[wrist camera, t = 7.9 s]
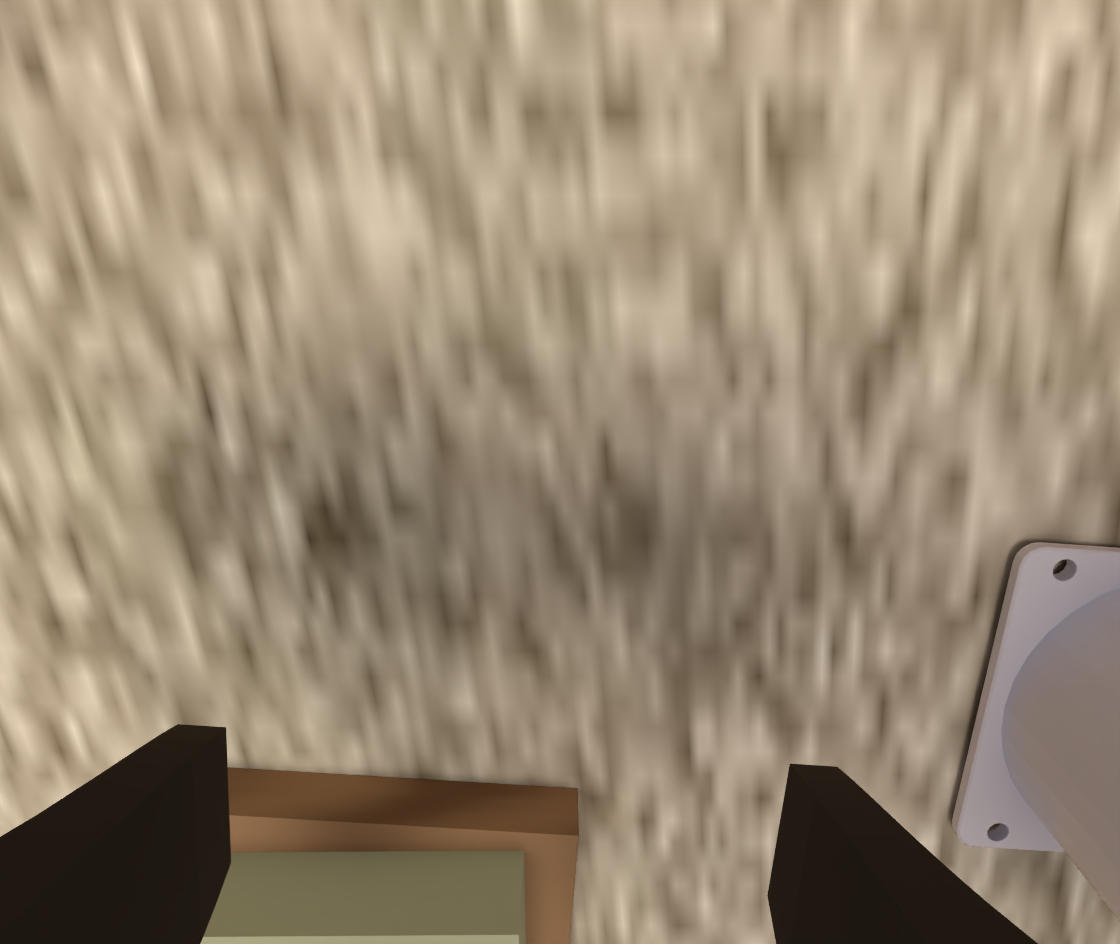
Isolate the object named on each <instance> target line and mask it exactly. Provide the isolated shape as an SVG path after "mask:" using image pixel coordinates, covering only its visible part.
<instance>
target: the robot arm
mask: <svg viewBox="0 0 1120 944" xmlns="http://www.w3.org/2000/svg"><path fill="white" fill-rule="evenodd" d="M1065 559H1067V565H1066V566H1065V568H1064V570H1062V571H1061V572H1060V573H1057V574H1053V568H1054V566H1055V565H1056V563H1058V562H1059V561H1061V560H1065ZM997 823H1000V825H999V827H997V828H996V829H994V830H988V829H989V828H990V827H991V826H992V825H994V824H997ZM952 828H953V830H954V832H955V833H956V835H957V837H958V838H959V840H960V841H961V842H963V843H964V844H965V845H969V846H973V847H989V848H1005V849H1020V850H1036V851H1052V852H1066V854H1067V855H1068V856H1069V857H1070V859H1071V860H1072V861H1073V862H1074V864H1075V865H1076V866H1077V867H1078V869H1079V870H1080V871H1081V873H1082V874H1083V875H1084V876H1085V878H1086V879H1087V880H1088V881H1089V883H1090V884H1091V885H1092V887H1093V888H1094V889H1095V890H1096V892H1097V893H1098V894H1099V895H1100V897H1101V898H1102V899H1103V901H1104V902H1105V903H1106V904H1107V906H1108V907H1109V908H1110V909H1111V911H1112V912H1113V913H1114V915H1115V916H1116V917H1117V918H1118V920H1119V921H1120V548H1116V547H1102V546H1088V545H1073V544H1059V543H1044V542H1037V543H1030V544H1028V545H1026V546H1024V547H1022V548H1021V550H1020V551H1019V552H1018V553H1017V554H1016V556H1015V558H1014V560H1013V564H1012V568H1011V572H1010V576H1009V581H1008V585H1007V589H1006V593H1005V598H1004V602H1003V606H1002V610H1001V615H1000V619H999V623H998V627H997V631H996V636H995V640H994V644H993V648H992V653H991V657H990V661H989V665H988V670H987V674H986V678H985V682H984V687H983V691H982V695H981V699H980V704H979V708H978V712H977V716H976V721H975V725H974V729H973V733H972V738H971V742H970V746H969V750H968V755H967V759H966V763H965V767H964V771H963V776H962V780H961V784H960V788H959V793H958V797H957V801H956V805H955V810H954V814H953V818H952ZM230 865H231V843H230V818H229V793H228V768H227V744H226V727H210V726H195V725H179V724H178V725H176V726H174V727H172V728H171V729H169V730H167V731H166V732H164V733H162V734H161V735H159V736H157V737H156V738H154V739H153V740H151V741H150V742H148V743H147V744H145V745H143V746H142V747H140V748H139V749H137V750H136V751H134V752H133V753H131V754H130V755H128V756H127V757H125V758H124V759H122V760H121V761H119V762H118V763H116V764H115V765H113V766H112V767H110V768H109V769H107V770H106V771H104V772H103V773H101V774H100V775H98V776H96V777H95V778H93V779H92V780H90V781H89V782H87V783H86V784H84V785H83V786H81V787H80V788H78V789H76V790H75V791H73V792H72V793H70V794H69V795H67V796H66V797H64V798H63V799H61V800H59V801H58V802H56V803H55V804H53V805H52V806H50V807H49V808H47V809H46V810H44V811H42V812H41V813H39V814H38V815H36V816H34V817H33V818H31V819H30V820H28V821H26V822H24V823H23V824H21V825H19V826H18V827H16V828H14V829H13V830H11V831H9V832H8V833H6V834H4V835H3V836H1V837H0V944H200V943H201V941H202V939H203V936H204V934H205V931H206V929H207V926H208V924H209V921H210V919H211V916H212V913H213V911H214V908H215V906H216V903H217V900H218V898H219V895H220V892H221V889H222V887H223V884H224V881H225V878H226V876H227V873H228V870H229V867H230ZM768 900H769V906H770V911H771V917H772V922H773V928H774V933H775V939H776V944H1038V943H1036V942H1035V941H1034V940H1033V939H1031V938H1030V937H1029V936H1028V935H1026V934H1025V933H1024V932H1023V931H1022V930H1020V929H1019V928H1018V927H1017V926H1015V925H1014V924H1013V923H1012V922H1010V921H1009V920H1008V919H1007V918H1006V917H1004V916H1003V915H1002V914H1001V913H999V912H998V911H997V910H996V909H995V908H993V907H992V906H991V905H990V904H988V903H987V902H986V901H985V900H984V899H983V898H981V897H980V896H979V895H978V894H977V893H976V892H974V891H973V890H972V889H971V888H970V887H969V886H967V885H966V884H965V883H964V882H963V881H962V880H961V879H959V878H958V877H957V876H956V875H955V874H954V873H953V872H952V871H950V870H949V869H948V868H947V867H946V866H945V865H944V864H943V863H941V862H940V861H939V860H938V859H937V858H936V857H935V856H934V855H933V854H932V853H930V852H929V851H928V850H927V849H926V848H925V847H924V846H923V845H922V844H921V843H920V842H918V841H917V840H916V839H915V838H914V837H913V836H912V835H911V834H910V833H909V832H908V831H907V830H906V829H904V828H903V827H902V826H901V825H900V824H899V823H898V822H897V821H896V820H895V819H894V818H893V817H892V816H891V815H890V814H888V813H887V812H886V811H885V810H884V809H883V808H882V807H881V806H880V805H879V804H878V803H877V802H876V801H875V800H874V799H872V798H871V797H870V796H869V795H868V794H867V793H866V792H865V791H864V790H863V789H862V788H861V787H860V786H859V785H857V784H856V783H855V782H854V781H853V780H852V779H851V778H850V777H849V776H847V775H846V774H845V773H844V772H843V771H842V770H840V769H839V768H838V767H832V766H816V765H801V764H790V766H789V772H788V778H787V784H786V790H785V796H784V802H783V808H782V813H781V819H780V825H779V831H778V837H777V843H776V849H775V855H774V860H773V866H772V872H771V878H770V884H769V890H768Z"/></svg>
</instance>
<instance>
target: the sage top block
mask: <svg viewBox="0 0 1120 944" xmlns="http://www.w3.org/2000/svg"><path fill="white" fill-rule="evenodd" d="M200 944H526V912H525V874H524V850H522V851H383V852H246V853H231V865H230V867H229V870H228V873H227V876H226V878H225V881H224V884H223V887H222V889H221V892H220V895H219V898H218V900H217V903H216V906H215V908H214V911H213V913H212V916H211V919H210V921H209V924H208V926H207V929H206V931H205V934H204V936H203V939H202V941H201V943H200Z"/></svg>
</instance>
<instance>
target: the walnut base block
mask: <svg viewBox="0 0 1120 944" xmlns="http://www.w3.org/2000/svg"><path fill="white" fill-rule="evenodd" d="M227 768H228V767H227ZM228 793H229V818H230V843H231V853H246V852H383V851H522V850H524V874H525V912H526V944H569V940H570V928H571V917H572V906H573V895H574V883H575V872H576V861H577V850H578V838H579V828H578V791H577V788H561V787H544V786H527V785H511V784H494V783H478V782H461V781H444V780H428V779H411V778H394V777H378V776H361V775H344V774H328V773H311V772H294V771H278V770H261V769H245V768H228Z"/></svg>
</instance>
